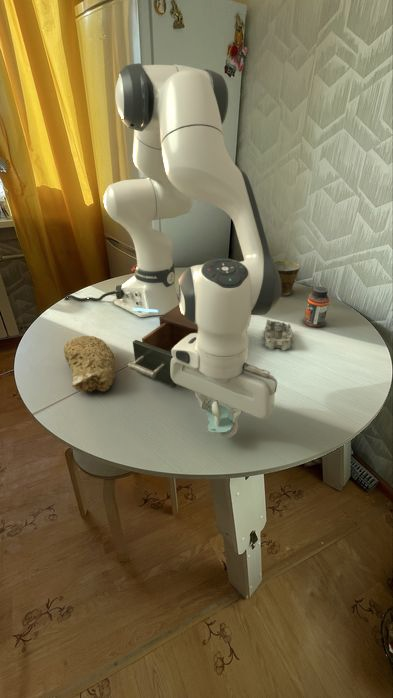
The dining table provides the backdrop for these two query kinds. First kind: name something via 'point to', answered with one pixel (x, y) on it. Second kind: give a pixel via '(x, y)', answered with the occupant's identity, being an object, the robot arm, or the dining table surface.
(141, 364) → the drawer
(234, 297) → the robot arm
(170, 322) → the cabinet
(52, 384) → the dining table surface
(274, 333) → the egg carton
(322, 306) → the supplement bottle
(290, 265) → the ceramic cup
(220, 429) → the pacifier
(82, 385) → the sponge
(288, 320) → the dining table surface
